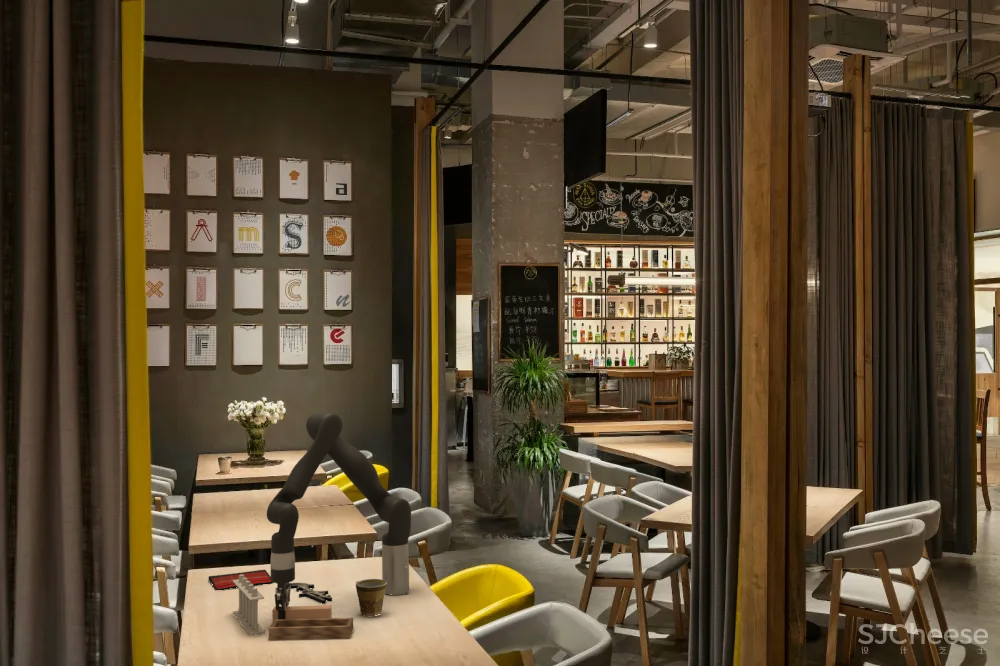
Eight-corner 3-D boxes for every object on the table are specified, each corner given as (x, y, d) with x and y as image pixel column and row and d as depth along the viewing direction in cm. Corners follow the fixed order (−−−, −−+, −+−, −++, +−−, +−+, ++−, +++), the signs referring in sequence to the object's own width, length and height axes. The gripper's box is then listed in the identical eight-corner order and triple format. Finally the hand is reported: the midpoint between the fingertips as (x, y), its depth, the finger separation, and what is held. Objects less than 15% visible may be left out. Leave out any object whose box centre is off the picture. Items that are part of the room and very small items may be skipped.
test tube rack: (264, 633, 269) (264, 590, 269) (250, 636, 267) (249, 592, 267) (246, 611, 291) (245, 571, 291) (232, 613, 289) (232, 573, 289)
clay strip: (331, 619, 282) (331, 605, 282) (330, 622, 279) (330, 608, 279) (274, 621, 281) (274, 606, 281) (272, 624, 277) (272, 610, 277)
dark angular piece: (278, 585, 317) (303, 580, 324) (278, 589, 317) (303, 584, 324) (317, 602, 297) (342, 596, 303) (317, 606, 297) (342, 600, 303)
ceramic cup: (393, 613, 288) (393, 582, 288) (369, 620, 280) (368, 589, 280) (368, 605, 296) (367, 575, 296) (344, 612, 289) (343, 581, 289)
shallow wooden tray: (353, 628, 273) (353, 617, 273) (349, 638, 264) (349, 627, 264) (275, 630, 272) (274, 619, 272) (268, 640, 263) (268, 628, 263)
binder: (208, 575, 329) (265, 568, 338) (208, 581, 329) (265, 574, 338) (215, 588, 314) (275, 580, 324) (215, 594, 314) (274, 586, 324)
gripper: (290, 571, 272) (290, 627, 272) (298, 559, 287) (299, 613, 287) (265, 571, 272) (266, 627, 272) (275, 560, 286) (275, 613, 286)
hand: (283, 619), depth 279 cm, fingers closed on clay strip, 3 cm apart
